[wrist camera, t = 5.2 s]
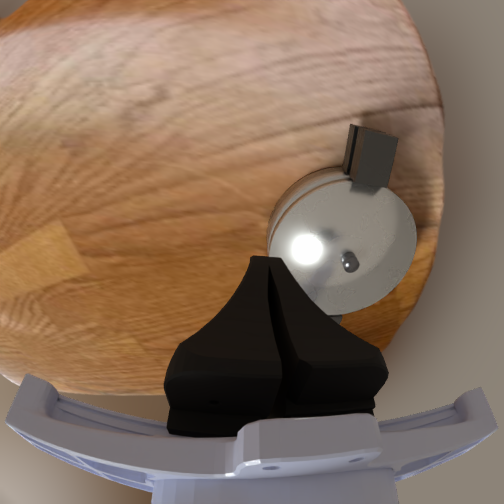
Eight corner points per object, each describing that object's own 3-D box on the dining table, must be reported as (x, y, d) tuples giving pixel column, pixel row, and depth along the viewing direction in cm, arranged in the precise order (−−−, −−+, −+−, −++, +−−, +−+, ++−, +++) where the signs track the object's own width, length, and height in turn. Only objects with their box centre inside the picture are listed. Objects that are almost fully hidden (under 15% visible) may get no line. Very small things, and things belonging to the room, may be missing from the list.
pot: (371, 303, 27) (380, 324, 25) (258, 298, 27) (258, 322, 24) (422, 142, 18) (444, 151, 16) (280, 111, 18) (286, 114, 15)
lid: (384, 309, 24) (390, 322, 23) (260, 305, 24) (260, 321, 22) (442, 150, 16) (455, 157, 14) (285, 114, 15) (289, 117, 14)
